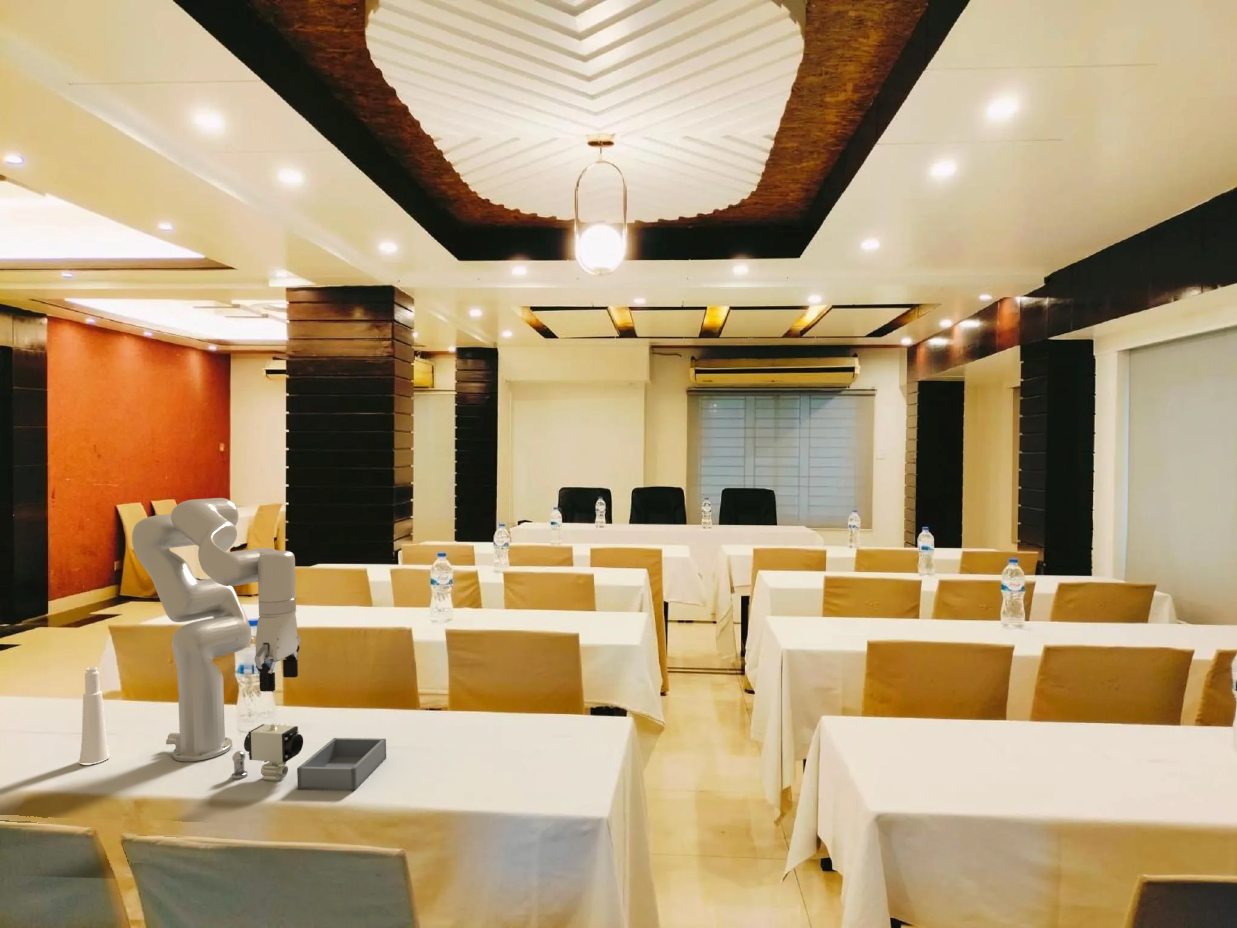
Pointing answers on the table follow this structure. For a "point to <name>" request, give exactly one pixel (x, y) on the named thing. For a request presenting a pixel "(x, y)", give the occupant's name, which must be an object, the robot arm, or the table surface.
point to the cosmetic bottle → (93, 721)
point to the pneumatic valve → (273, 748)
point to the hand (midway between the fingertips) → (279, 683)
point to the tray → (342, 764)
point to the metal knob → (239, 765)
